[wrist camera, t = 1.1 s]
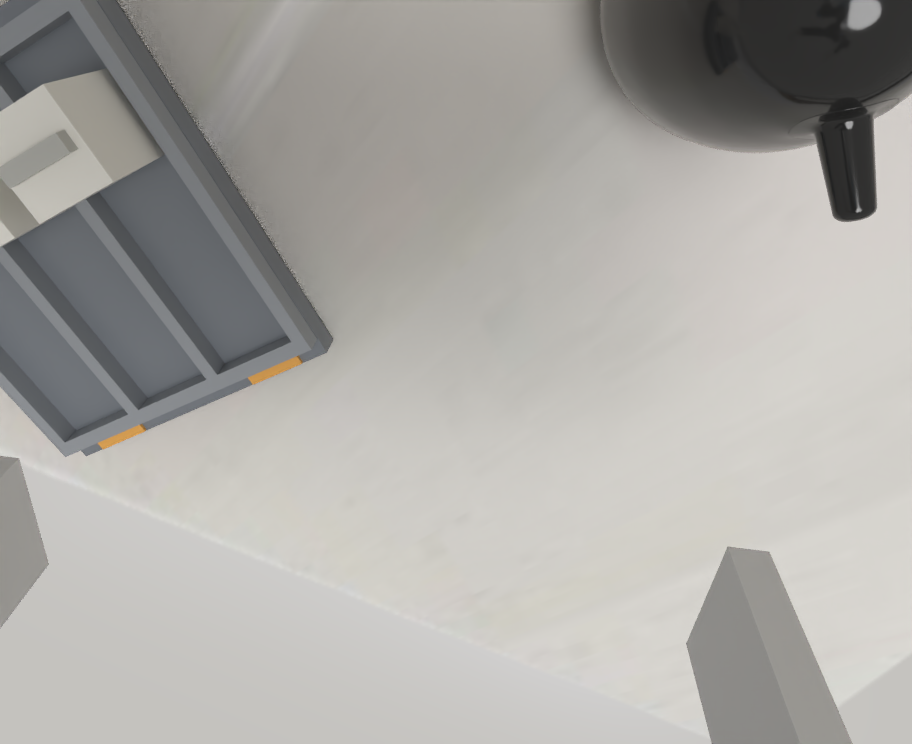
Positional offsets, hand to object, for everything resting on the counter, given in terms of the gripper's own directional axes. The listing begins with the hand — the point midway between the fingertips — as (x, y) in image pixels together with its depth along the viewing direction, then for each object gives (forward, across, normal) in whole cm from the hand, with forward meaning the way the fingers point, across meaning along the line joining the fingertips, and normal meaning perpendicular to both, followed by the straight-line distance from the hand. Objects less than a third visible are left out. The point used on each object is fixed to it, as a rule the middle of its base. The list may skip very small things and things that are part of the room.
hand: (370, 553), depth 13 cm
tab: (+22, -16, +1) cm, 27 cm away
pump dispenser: (+24, +10, +9) cm, 28 cm away
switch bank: (+24, -18, -5) cm, 30 cm away
